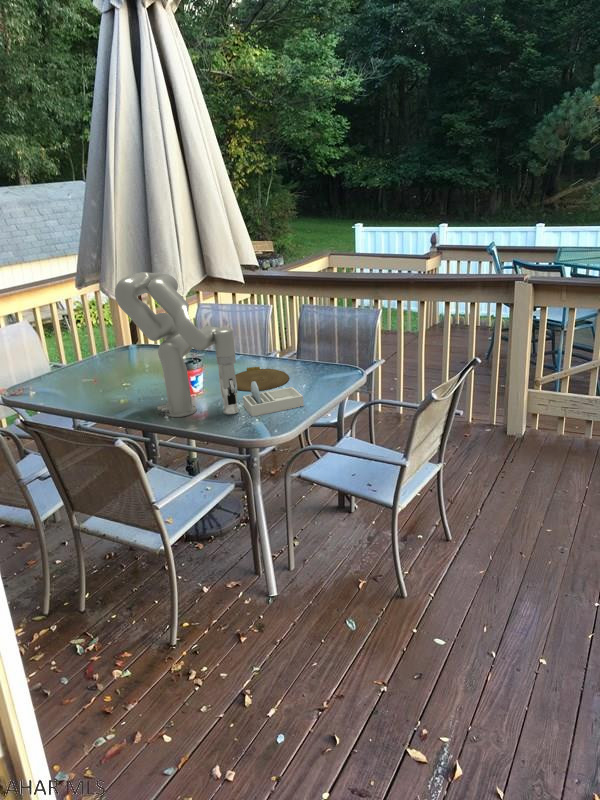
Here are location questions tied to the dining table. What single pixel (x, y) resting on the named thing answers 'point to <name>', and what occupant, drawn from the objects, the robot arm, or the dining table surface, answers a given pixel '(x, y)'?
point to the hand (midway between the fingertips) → (229, 400)
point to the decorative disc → (261, 379)
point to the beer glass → (227, 408)
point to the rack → (271, 400)
